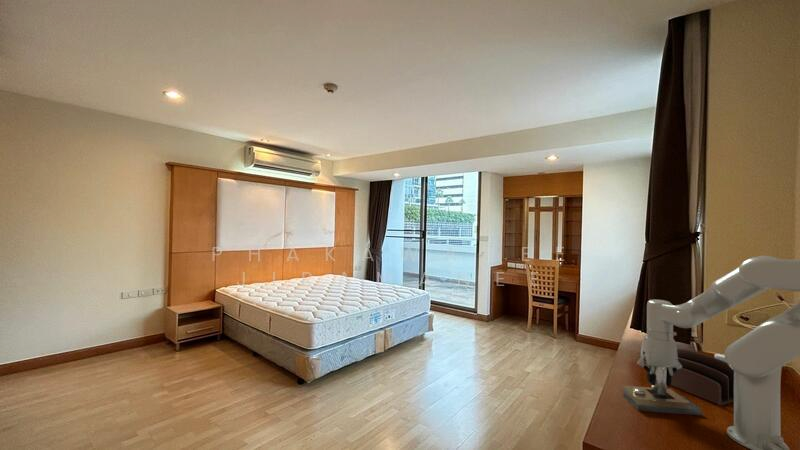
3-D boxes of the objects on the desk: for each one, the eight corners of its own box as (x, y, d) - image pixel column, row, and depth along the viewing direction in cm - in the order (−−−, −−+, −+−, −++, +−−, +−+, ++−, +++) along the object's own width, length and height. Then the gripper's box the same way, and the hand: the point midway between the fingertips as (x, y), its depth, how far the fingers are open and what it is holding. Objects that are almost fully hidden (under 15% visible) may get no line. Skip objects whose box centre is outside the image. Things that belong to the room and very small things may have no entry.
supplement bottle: (731, 382, 136) (731, 359, 136) (713, 379, 139) (713, 356, 139) (728, 377, 140) (728, 355, 140) (711, 374, 143) (711, 352, 143)
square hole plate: (682, 400, 122) (682, 386, 122) (701, 415, 112) (701, 401, 112) (623, 395, 126) (623, 382, 126) (637, 410, 116) (637, 396, 116)
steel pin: (669, 395, 117) (669, 367, 117) (655, 393, 118) (656, 366, 118) (661, 388, 121) (662, 362, 121) (648, 387, 122) (648, 361, 122)
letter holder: (677, 378, 140) (677, 345, 140) (737, 401, 121) (737, 363, 121) (661, 381, 137) (661, 348, 137) (720, 406, 118) (720, 367, 118)
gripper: (678, 332, 121) (678, 381, 122) (628, 329, 124) (628, 377, 125) (693, 339, 114) (692, 391, 114) (639, 336, 117) (639, 387, 117)
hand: (659, 383), depth 119 cm, fingers closed on steel pin, 4 cm apart
